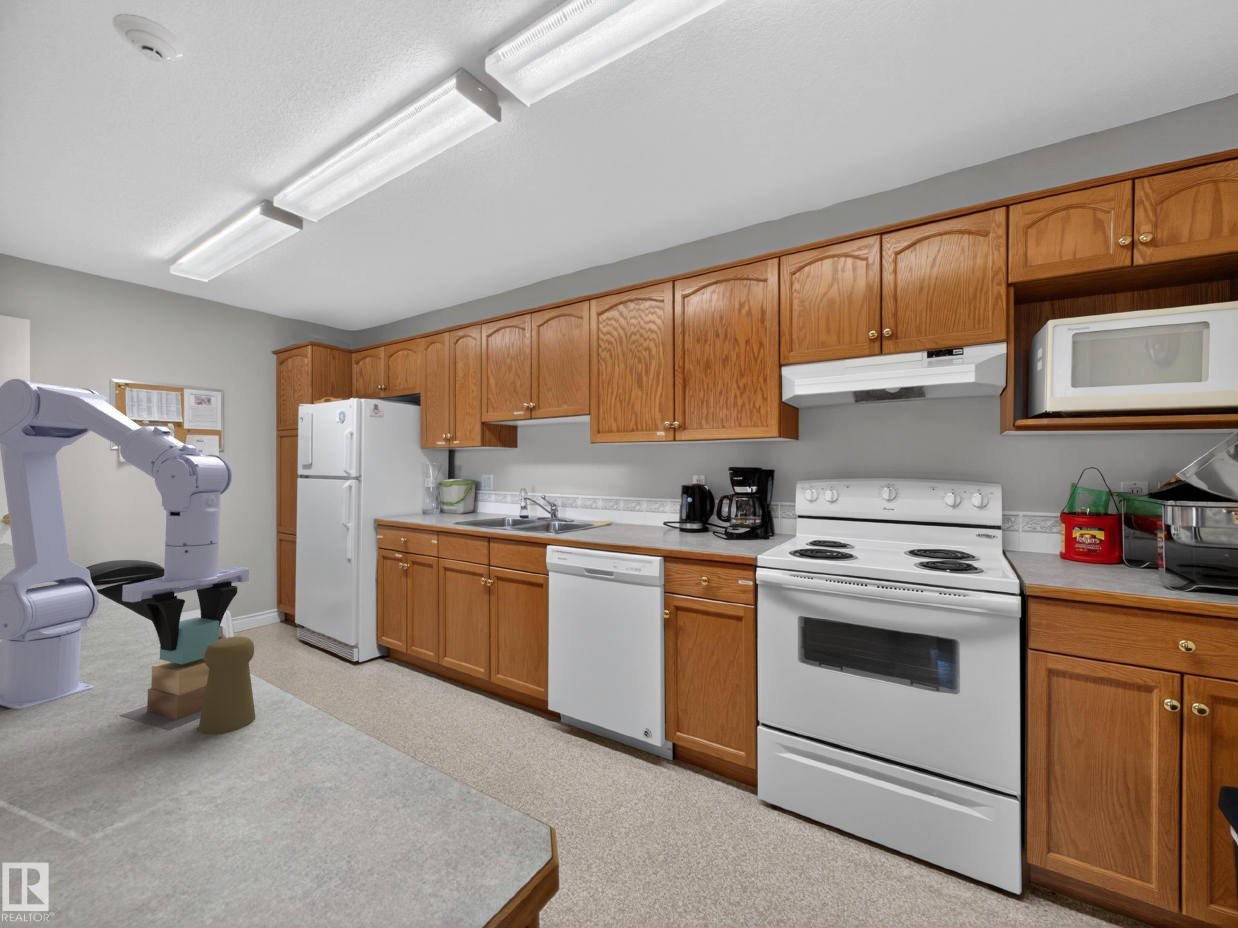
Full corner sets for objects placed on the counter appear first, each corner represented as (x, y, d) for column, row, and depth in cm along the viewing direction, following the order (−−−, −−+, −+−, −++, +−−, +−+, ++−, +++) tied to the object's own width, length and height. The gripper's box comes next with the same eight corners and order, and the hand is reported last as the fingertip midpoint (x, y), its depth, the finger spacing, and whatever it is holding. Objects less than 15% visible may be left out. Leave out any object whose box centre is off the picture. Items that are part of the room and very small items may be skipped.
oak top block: (151, 688, 72) (152, 665, 72) (196, 674, 77) (196, 652, 77) (178, 695, 70) (179, 671, 70) (222, 680, 75) (223, 658, 75)
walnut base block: (147, 711, 71) (147, 688, 71) (196, 694, 77) (197, 673, 77) (176, 719, 69) (177, 696, 69) (225, 701, 75) (225, 679, 75)
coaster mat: (119, 718, 70) (119, 715, 70) (201, 689, 80) (201, 687, 80) (169, 732, 67) (169, 729, 67) (249, 701, 76) (249, 698, 76)
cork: (225, 740, 65) (228, 648, 65) (184, 734, 67) (187, 644, 67) (267, 718, 71) (270, 634, 71) (229, 712, 72) (231, 630, 73)
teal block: (159, 659, 72) (161, 625, 72) (196, 649, 76) (197, 617, 76) (182, 664, 70) (183, 629, 70) (218, 653, 75) (219, 621, 75)
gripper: (149, 552, 65) (145, 665, 65) (264, 539, 79) (261, 633, 79) (113, 548, 68) (109, 657, 68) (231, 536, 81) (228, 627, 81)
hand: (189, 644), depth 73 cm, fingers closed on teal block, 4 cm apart
